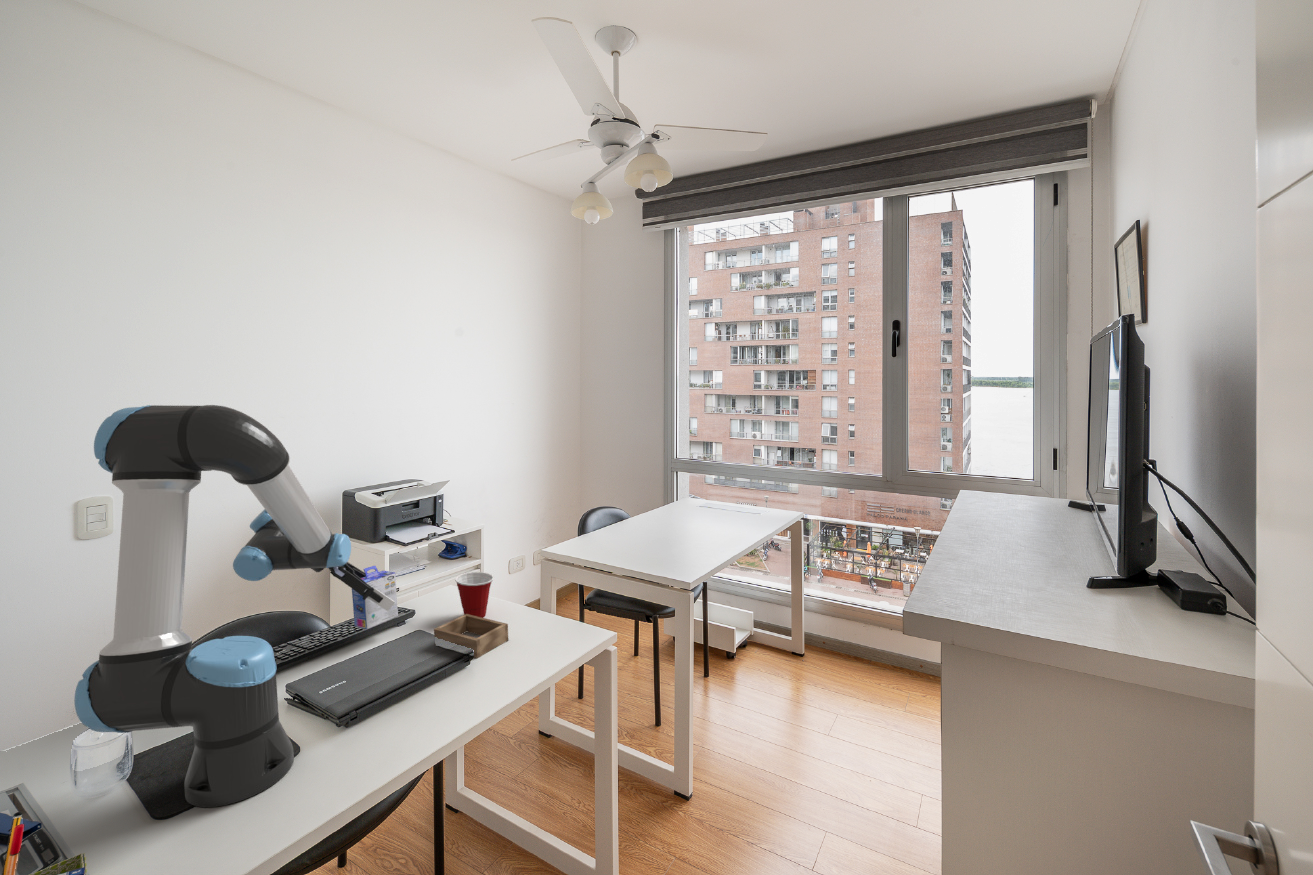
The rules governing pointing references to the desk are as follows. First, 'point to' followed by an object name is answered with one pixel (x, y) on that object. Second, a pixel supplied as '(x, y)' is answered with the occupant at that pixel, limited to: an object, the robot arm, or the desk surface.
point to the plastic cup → (474, 592)
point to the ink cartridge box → (369, 611)
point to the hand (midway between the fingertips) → (388, 600)
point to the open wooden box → (488, 629)
